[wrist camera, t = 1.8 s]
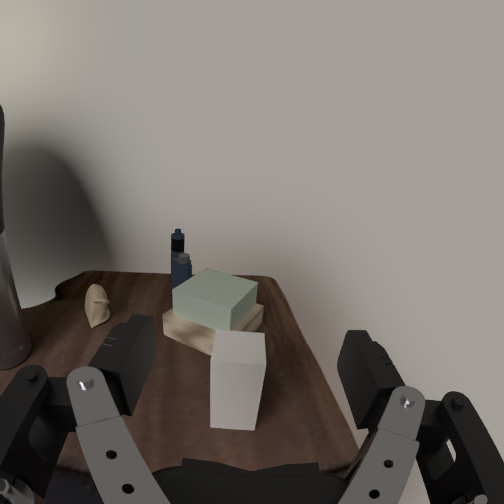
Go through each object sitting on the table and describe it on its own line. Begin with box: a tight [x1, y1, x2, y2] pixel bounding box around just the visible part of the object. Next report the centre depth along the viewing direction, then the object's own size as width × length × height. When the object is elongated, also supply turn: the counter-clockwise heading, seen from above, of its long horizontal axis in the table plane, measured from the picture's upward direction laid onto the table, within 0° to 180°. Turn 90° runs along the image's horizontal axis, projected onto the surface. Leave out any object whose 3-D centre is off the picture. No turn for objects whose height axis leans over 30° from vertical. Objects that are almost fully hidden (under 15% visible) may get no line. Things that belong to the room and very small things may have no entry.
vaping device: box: [171, 229, 192, 291], centre depth 50 cm, size 3×5×12 cm, turn 38°
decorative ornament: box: [85, 284, 110, 328], centre depth 41 cm, size 4×8×5 cm, turn 37°
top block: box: [172, 268, 258, 331], centre depth 41 cm, size 9×9×4 cm
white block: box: [210, 329, 266, 430], centre depth 27 cm, size 5×5×10 cm
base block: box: [163, 304, 264, 356], centre depth 43 cm, size 11×11×4 cm
